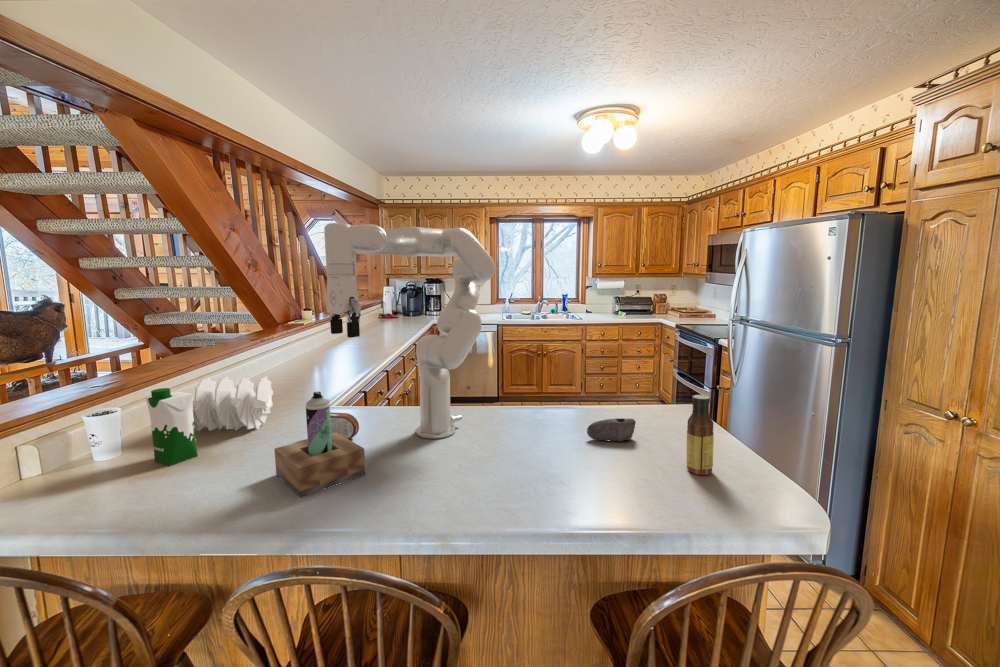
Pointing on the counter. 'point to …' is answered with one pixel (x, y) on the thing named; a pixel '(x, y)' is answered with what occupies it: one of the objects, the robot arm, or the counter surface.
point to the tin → (344, 424)
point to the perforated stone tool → (612, 429)
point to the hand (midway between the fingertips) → (345, 335)
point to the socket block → (319, 465)
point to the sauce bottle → (700, 437)
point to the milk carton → (172, 426)
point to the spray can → (318, 425)
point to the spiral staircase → (231, 404)
